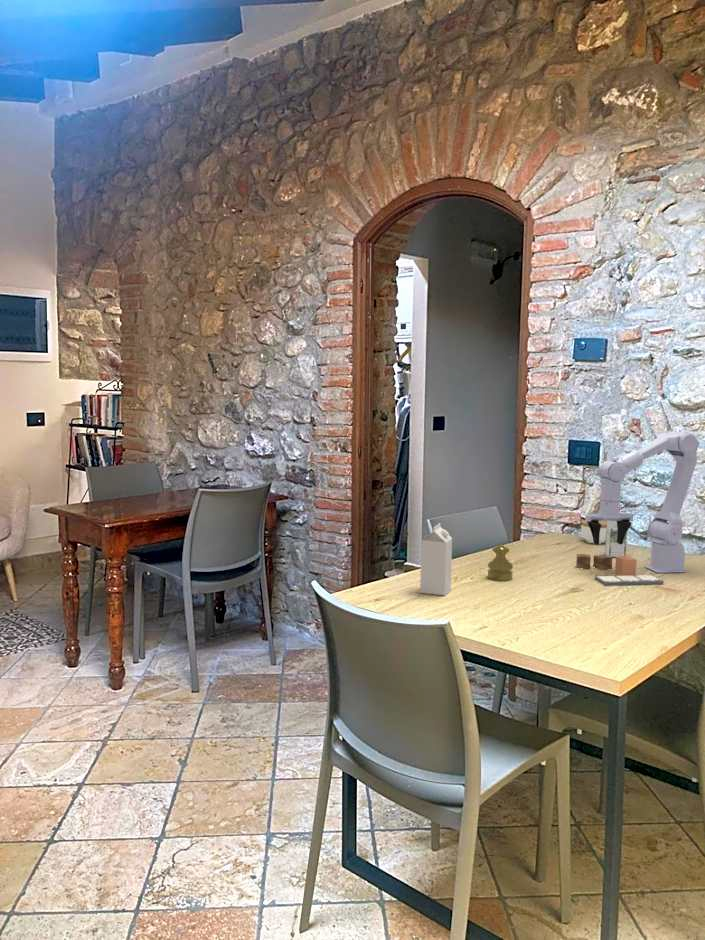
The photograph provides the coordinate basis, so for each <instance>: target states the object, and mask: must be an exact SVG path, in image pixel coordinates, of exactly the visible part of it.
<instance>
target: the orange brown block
mask: <svg viewBox="0 0 705 940" xmlns="http://www.w3.org/2000/svg"><path fill="white" fill-rule="evenodd" d="M614 572H615V573H616V572H617V573H616V574H618V573H619V574H618V575H620V574H621V575H620V576H635V575H637V559H636V558H634V557H633V556H631V555H626V556H616V558H615V565H614Z"/></svg>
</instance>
